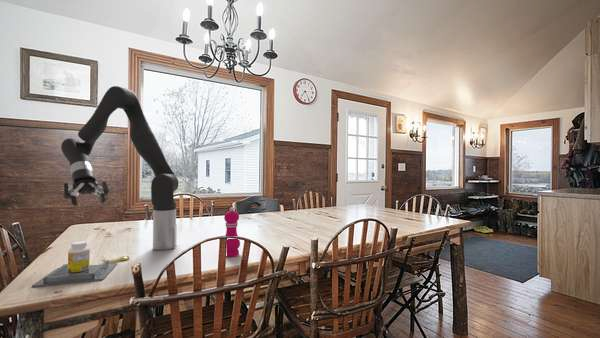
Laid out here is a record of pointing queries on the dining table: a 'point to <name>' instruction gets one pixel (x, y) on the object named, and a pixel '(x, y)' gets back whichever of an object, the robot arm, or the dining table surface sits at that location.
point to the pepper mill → (232, 232)
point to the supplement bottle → (78, 258)
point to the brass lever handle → (119, 259)
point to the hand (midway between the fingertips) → (89, 203)
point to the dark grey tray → (76, 275)
